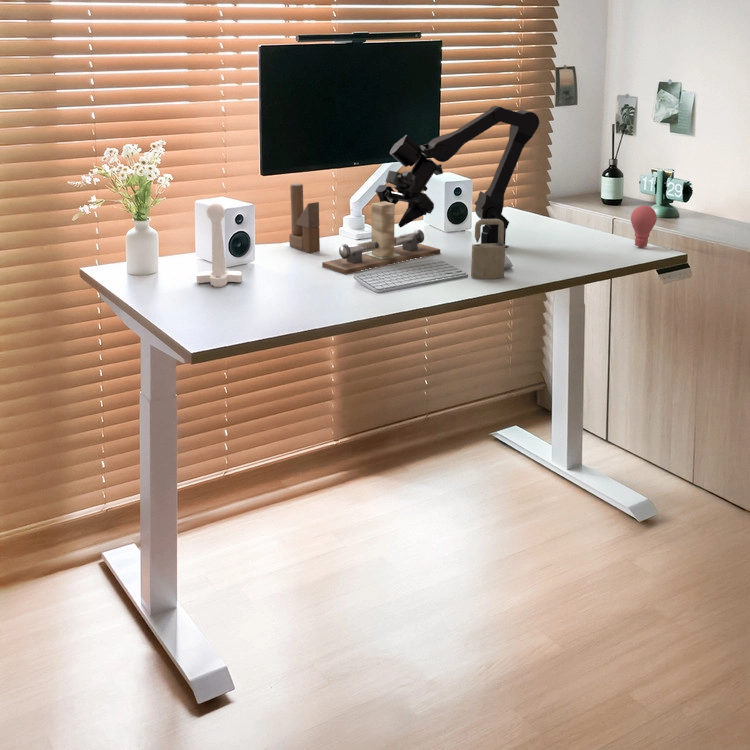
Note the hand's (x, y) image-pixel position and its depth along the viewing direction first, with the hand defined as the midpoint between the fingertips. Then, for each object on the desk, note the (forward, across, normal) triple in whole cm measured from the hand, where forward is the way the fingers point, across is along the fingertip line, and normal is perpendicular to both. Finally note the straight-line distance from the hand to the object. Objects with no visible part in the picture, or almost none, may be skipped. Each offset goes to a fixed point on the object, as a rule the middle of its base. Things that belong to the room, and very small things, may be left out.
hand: (388, 223), depth 265 cm
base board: (+8, 0, +6) cm, 10 cm away
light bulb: (-37, +37, +52) cm, 74 cm away
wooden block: (+15, -24, -1) cm, 28 cm away
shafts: (+7, 0, +5) cm, 9 cm away
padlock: (+2, +30, +12) cm, 33 cm away
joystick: (+41, -10, -27) cm, 50 cm away
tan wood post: (+7, 0, +5) cm, 9 cm away
